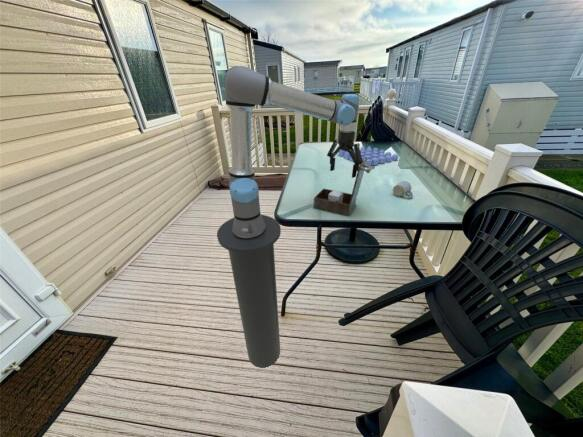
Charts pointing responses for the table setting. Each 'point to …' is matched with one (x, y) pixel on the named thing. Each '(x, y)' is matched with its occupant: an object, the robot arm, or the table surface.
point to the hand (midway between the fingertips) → (342, 173)
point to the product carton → (335, 196)
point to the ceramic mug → (403, 189)
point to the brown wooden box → (334, 203)
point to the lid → (359, 179)
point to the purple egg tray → (371, 156)
